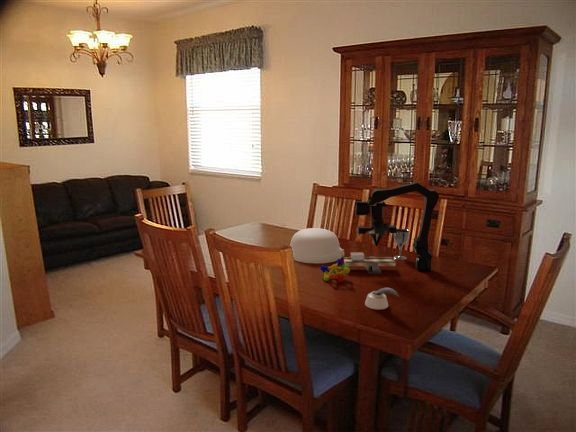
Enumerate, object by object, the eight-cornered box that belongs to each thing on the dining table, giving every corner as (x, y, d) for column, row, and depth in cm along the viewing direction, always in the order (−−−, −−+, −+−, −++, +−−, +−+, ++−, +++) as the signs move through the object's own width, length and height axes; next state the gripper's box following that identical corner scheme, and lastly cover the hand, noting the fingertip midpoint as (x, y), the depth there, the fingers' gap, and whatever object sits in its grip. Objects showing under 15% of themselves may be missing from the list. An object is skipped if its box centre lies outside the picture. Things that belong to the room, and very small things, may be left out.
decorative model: (323, 277, 200) (317, 259, 213) (327, 293, 204) (321, 274, 218) (352, 270, 200) (344, 252, 213) (355, 286, 204) (347, 267, 217)
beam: (392, 262, 226) (392, 257, 225) (395, 267, 219) (395, 261, 218) (343, 263, 226) (343, 257, 225) (345, 267, 219) (345, 261, 218)
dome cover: (345, 248, 260) (346, 224, 257) (343, 265, 231) (344, 238, 228) (289, 246, 264) (289, 222, 262) (280, 262, 236) (280, 235, 233)
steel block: (362, 259, 224) (362, 252, 224) (364, 262, 220) (364, 255, 219) (350, 259, 224) (350, 252, 224) (351, 262, 220) (351, 255, 219)
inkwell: (378, 299, 187) (379, 275, 185) (409, 315, 172) (410, 290, 170) (360, 303, 183) (361, 279, 181) (390, 320, 168) (391, 294, 166)
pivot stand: (376, 266, 228) (377, 255, 227) (381, 273, 218) (381, 262, 216) (364, 266, 228) (365, 255, 227) (368, 273, 218) (369, 262, 216)
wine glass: (391, 259, 240) (392, 231, 237) (393, 255, 248) (395, 228, 245) (406, 260, 238) (408, 232, 234) (408, 256, 245) (410, 229, 242)
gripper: (360, 219, 212) (360, 251, 216) (400, 218, 213) (399, 250, 216) (356, 214, 223) (356, 245, 227) (394, 213, 224) (393, 244, 227)
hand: (376, 246), depth 224 cm, fingers closed
